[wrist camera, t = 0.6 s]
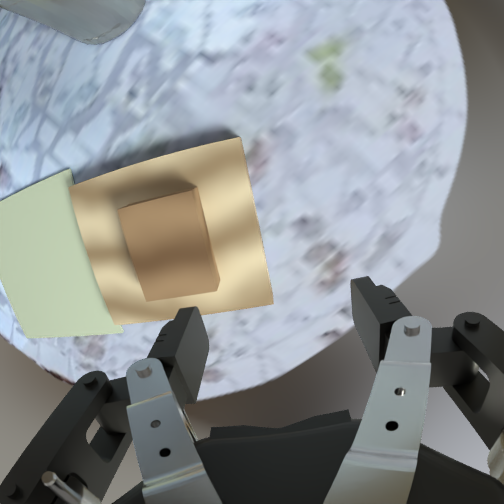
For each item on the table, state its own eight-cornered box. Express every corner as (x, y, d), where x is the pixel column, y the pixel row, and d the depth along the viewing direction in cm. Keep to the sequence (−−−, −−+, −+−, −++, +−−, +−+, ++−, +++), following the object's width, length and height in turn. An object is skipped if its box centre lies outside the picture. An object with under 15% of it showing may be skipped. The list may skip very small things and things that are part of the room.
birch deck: (78, 184, 29) (68, 187, 27) (241, 137, 27) (239, 137, 25) (121, 316, 33) (114, 325, 32) (272, 294, 32) (273, 304, 30)
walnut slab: (128, 204, 27) (117, 209, 25) (197, 186, 26) (191, 190, 24) (154, 290, 30) (146, 301, 28) (220, 279, 29) (216, 291, 27)
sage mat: (-19, 212, 30) (-21, 212, 29) (70, 168, 28) (68, 168, 28) (28, 336, 36) (26, 338, 36) (123, 331, 34) (122, 332, 34)
